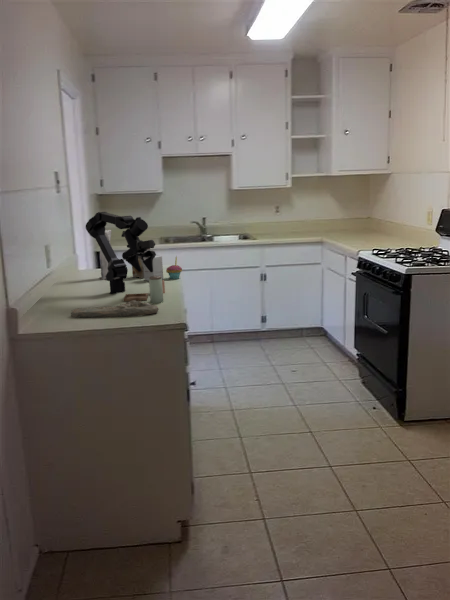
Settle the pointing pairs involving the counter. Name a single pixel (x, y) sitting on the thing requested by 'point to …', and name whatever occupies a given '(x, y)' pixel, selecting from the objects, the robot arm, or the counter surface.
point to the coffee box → (141, 274)
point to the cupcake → (174, 270)
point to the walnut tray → (136, 297)
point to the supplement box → (154, 268)
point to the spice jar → (156, 289)
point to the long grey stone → (116, 310)
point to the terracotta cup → (163, 286)
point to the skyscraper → (103, 260)
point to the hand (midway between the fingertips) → (146, 271)
